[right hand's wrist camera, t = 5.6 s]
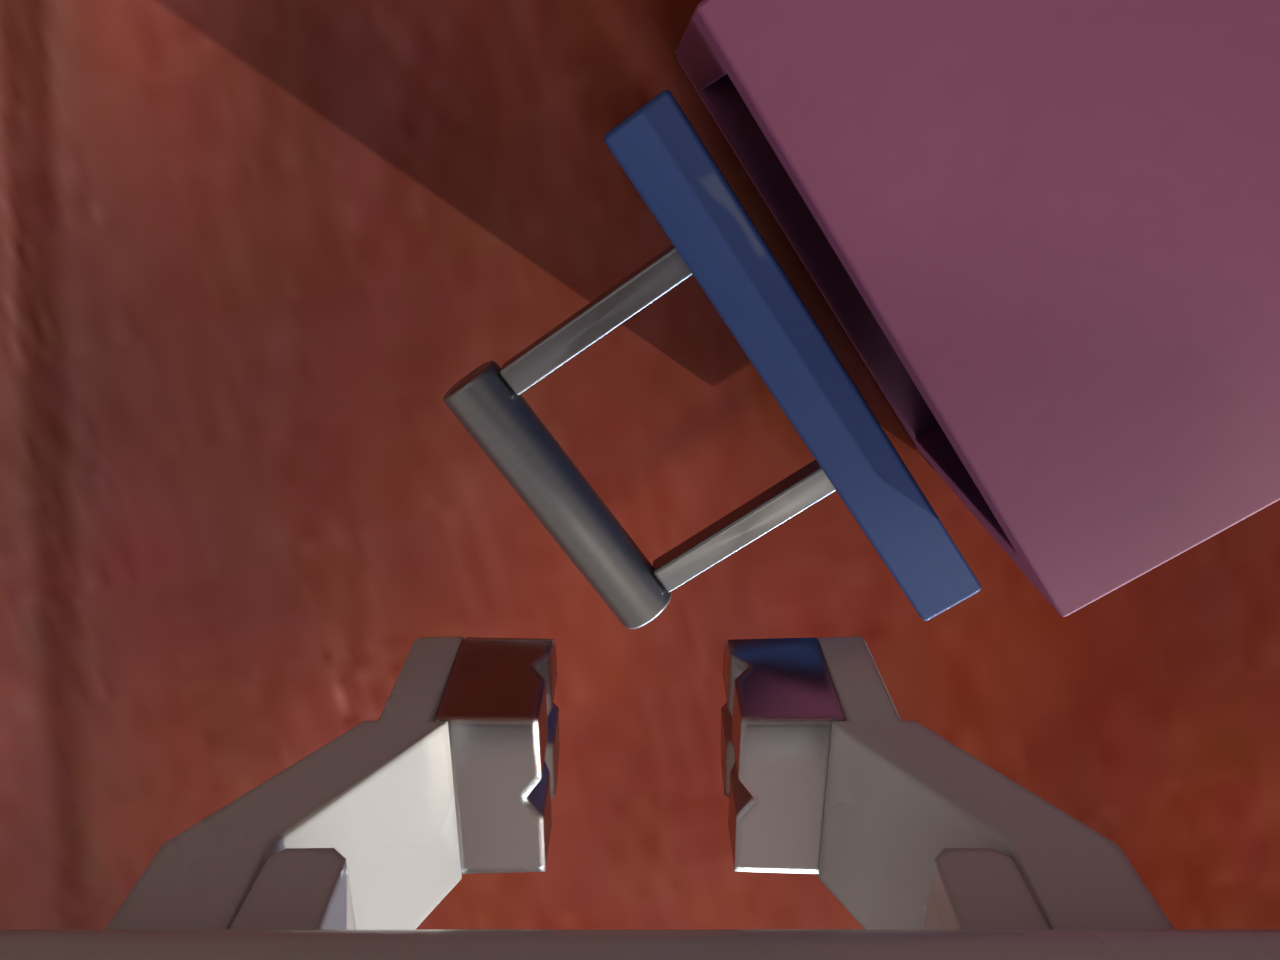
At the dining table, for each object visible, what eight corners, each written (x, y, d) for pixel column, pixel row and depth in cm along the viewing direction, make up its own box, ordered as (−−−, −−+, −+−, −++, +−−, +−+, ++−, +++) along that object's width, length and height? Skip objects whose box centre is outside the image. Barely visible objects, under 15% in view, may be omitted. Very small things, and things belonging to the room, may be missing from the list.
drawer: (671, 600, 24) (681, 761, 18) (422, 277, 21) (332, 338, 15) (1575, 49, 19) (2011, 11, 13) (1422, -472, 16) (1894, -835, 10)
